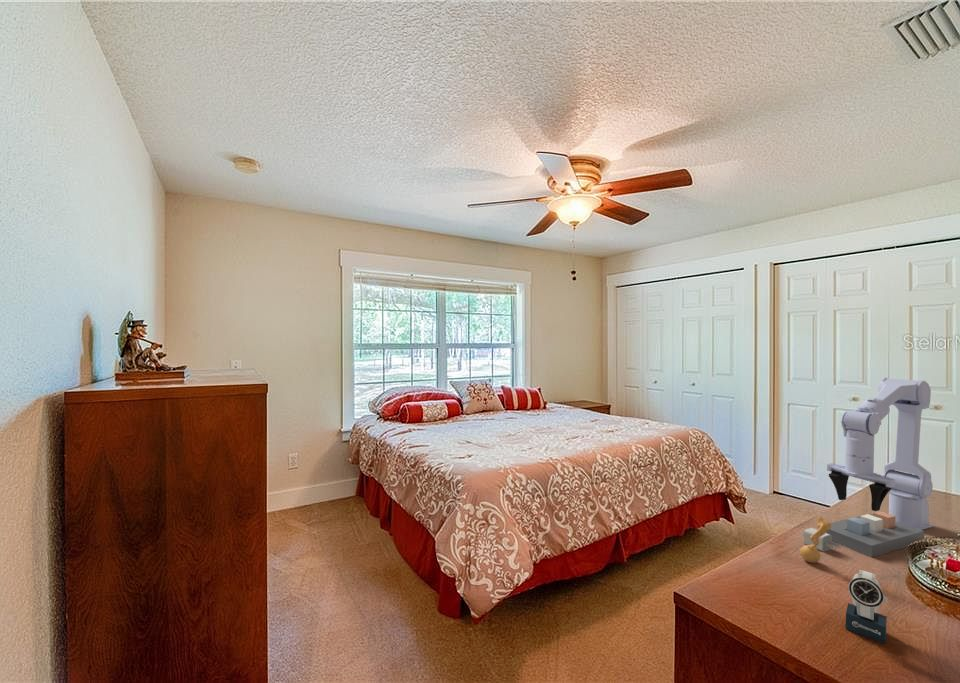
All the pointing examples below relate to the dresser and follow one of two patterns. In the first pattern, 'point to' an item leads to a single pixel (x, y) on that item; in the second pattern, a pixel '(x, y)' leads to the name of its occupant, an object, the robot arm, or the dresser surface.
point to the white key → (873, 522)
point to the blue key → (858, 526)
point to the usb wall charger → (823, 540)
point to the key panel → (875, 538)
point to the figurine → (815, 542)
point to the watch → (866, 607)
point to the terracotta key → (886, 519)
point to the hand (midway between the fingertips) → (858, 504)
